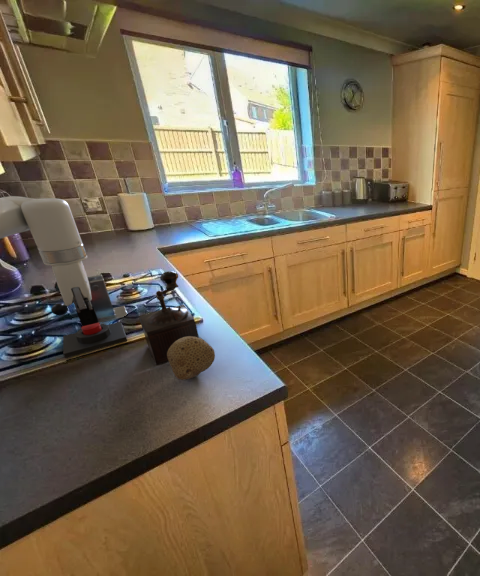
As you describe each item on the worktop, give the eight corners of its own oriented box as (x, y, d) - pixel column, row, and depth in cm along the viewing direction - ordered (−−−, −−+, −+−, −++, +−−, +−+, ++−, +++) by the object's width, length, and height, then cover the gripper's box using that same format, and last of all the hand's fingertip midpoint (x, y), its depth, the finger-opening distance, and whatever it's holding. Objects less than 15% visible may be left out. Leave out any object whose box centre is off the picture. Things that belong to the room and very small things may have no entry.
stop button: (84, 337, 81) (81, 330, 81) (83, 330, 84) (80, 325, 83) (102, 332, 84) (100, 326, 83) (101, 326, 86) (99, 320, 85)
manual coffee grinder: (205, 349, 85) (192, 286, 78) (155, 366, 78) (135, 298, 71) (188, 325, 95) (175, 267, 88) (143, 338, 88) (124, 276, 81)
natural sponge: (217, 359, 81) (210, 325, 77) (218, 381, 74) (211, 344, 70) (174, 368, 78) (165, 332, 73) (172, 392, 70) (161, 354, 66)
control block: (66, 361, 78) (60, 347, 77) (66, 343, 85) (60, 329, 83) (128, 344, 86) (124, 330, 84) (123, 328, 92) (119, 315, 91)
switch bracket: (85, 330, 91) (68, 288, 85) (83, 318, 96) (68, 278, 91) (129, 319, 97) (116, 279, 92) (125, 308, 102) (113, 270, 97)
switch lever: (59, 319, 88) (47, 312, 86) (59, 314, 90) (47, 307, 88) (105, 287, 92) (94, 279, 90) (104, 283, 95) (93, 275, 92)
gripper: (42, 249, 78) (69, 316, 85) (40, 266, 68) (71, 341, 75) (83, 243, 83) (106, 308, 90) (87, 259, 73) (112, 330, 80)
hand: (90, 323), depth 83 cm, fingers closed
